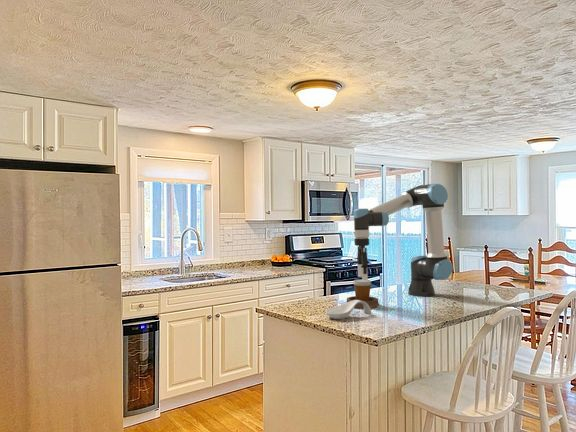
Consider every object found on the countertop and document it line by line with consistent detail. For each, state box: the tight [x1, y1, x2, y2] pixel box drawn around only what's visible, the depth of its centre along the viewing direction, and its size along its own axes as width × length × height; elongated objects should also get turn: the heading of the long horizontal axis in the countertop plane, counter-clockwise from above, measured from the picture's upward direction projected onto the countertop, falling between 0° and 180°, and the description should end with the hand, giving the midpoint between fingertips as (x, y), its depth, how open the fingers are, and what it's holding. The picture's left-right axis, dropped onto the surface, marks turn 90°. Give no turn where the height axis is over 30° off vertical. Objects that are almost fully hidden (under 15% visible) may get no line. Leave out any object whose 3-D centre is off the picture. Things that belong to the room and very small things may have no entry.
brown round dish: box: [346, 296, 380, 310], centre depth 229 cm, size 17×17×4 cm
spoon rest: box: [324, 300, 372, 320], centre depth 205 cm, size 24×12×7 cm, turn 121°
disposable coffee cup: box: [352, 278, 372, 301], centre depth 230 cm, size 10×10×12 cm
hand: (362, 278), depth 230 cm, fingers open, 13 cm apart
